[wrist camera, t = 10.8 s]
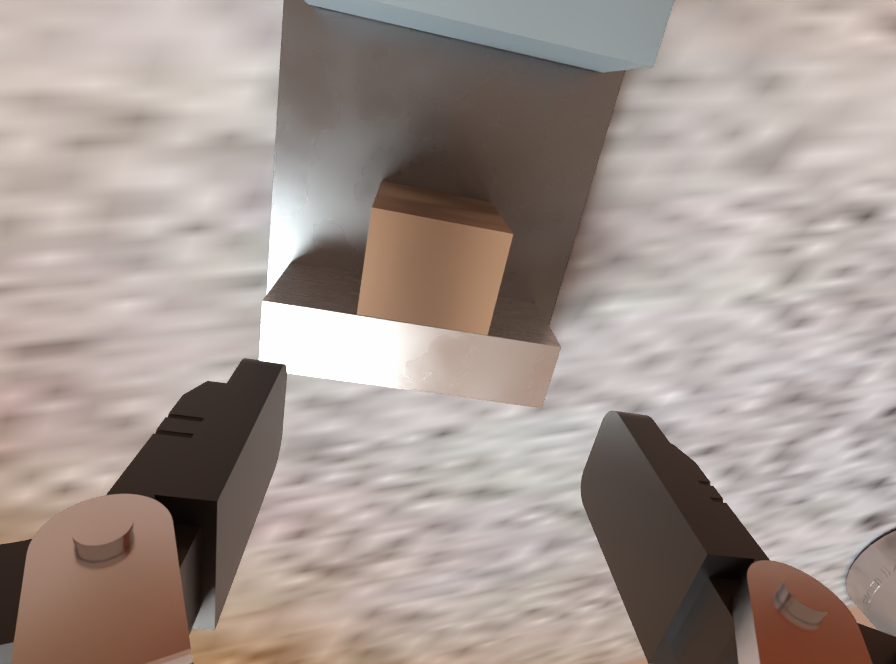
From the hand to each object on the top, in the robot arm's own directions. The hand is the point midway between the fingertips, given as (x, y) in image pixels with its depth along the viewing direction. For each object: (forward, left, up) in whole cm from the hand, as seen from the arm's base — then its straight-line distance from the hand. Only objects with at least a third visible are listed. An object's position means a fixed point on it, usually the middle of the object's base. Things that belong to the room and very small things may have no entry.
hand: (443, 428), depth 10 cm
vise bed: (0, -6, -18) cm, 19 cm away
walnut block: (0, 0, -16) cm, 16 cm away
